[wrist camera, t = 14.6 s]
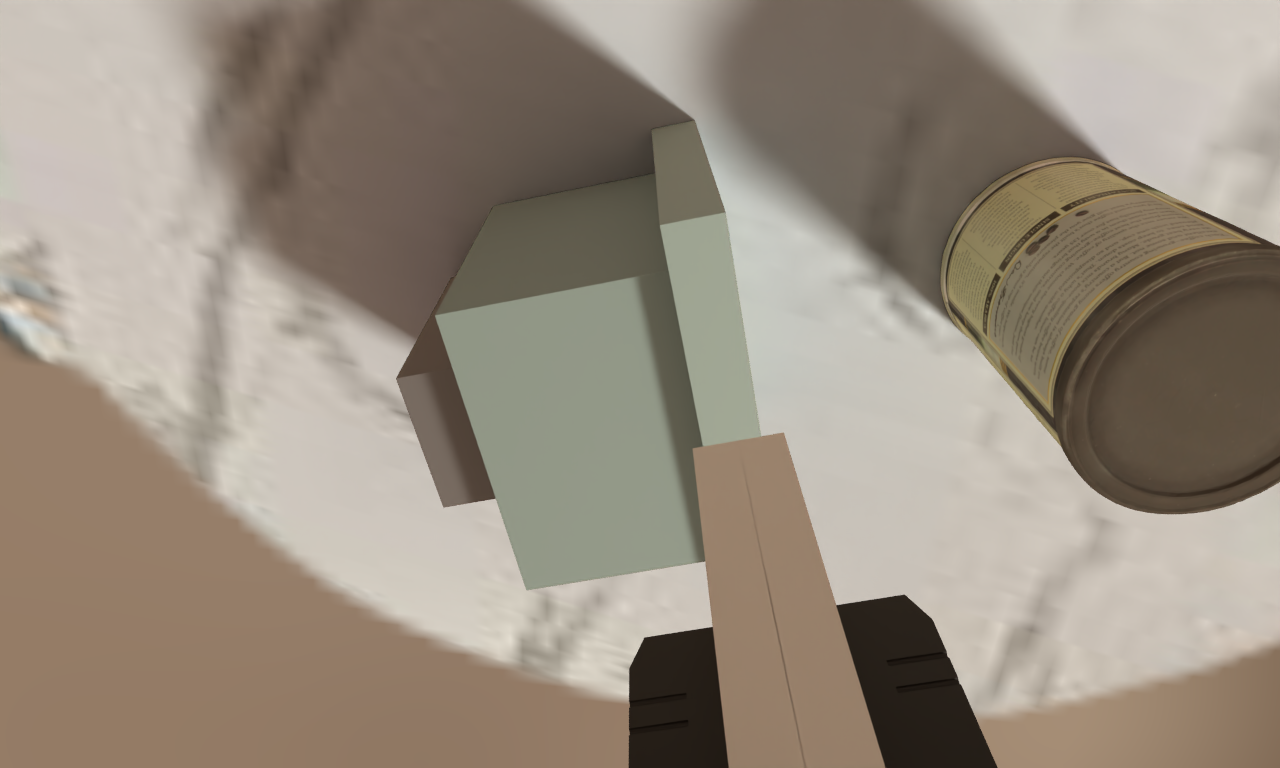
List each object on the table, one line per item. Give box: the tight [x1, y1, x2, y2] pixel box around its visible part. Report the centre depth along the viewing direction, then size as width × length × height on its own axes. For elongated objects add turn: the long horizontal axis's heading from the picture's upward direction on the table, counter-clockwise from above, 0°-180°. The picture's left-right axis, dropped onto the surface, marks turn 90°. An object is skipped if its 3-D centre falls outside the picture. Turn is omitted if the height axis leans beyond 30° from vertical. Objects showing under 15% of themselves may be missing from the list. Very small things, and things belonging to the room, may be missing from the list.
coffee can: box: [941, 157, 1280, 514], centre depth 36 cm, size 10×10×14 cm
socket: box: [435, 120, 761, 590], centre depth 37 cm, size 10×16×15 cm, turn 11°
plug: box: [396, 277, 496, 507], centre depth 38 cm, size 10×6×11 cm, turn 101°
